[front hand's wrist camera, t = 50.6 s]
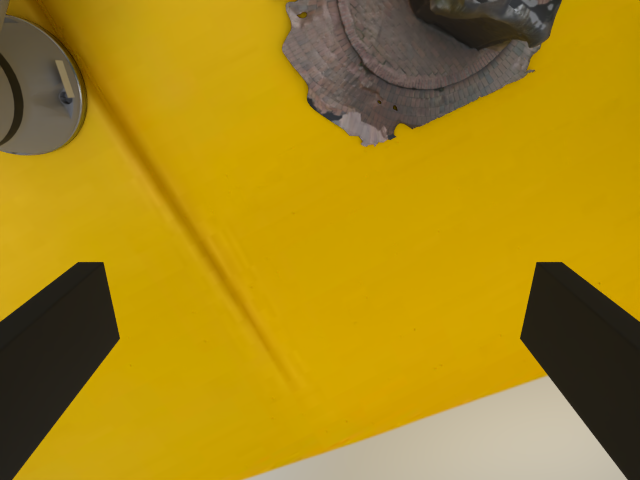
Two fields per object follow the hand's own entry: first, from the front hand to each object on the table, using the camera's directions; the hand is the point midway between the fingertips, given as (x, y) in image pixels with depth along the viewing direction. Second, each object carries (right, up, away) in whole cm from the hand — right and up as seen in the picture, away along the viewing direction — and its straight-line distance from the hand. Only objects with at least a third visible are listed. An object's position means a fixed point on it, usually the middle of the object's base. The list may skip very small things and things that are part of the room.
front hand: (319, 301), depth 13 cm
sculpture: (+12, +30, +32) cm, 45 cm away
